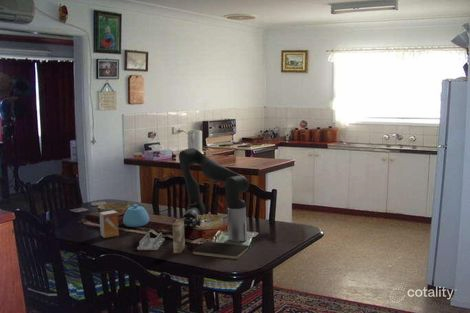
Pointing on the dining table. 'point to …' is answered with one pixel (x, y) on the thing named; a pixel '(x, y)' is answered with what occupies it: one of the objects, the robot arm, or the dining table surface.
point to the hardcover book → (221, 250)
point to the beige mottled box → (178, 236)
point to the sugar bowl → (135, 216)
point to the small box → (109, 224)
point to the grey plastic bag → (150, 242)
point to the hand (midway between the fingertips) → (184, 226)
